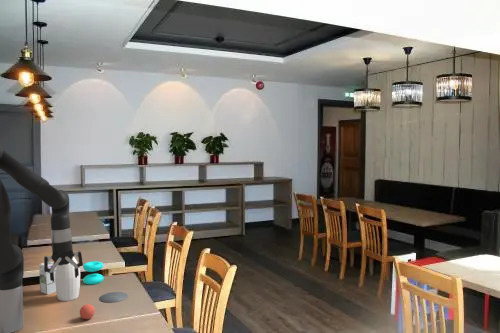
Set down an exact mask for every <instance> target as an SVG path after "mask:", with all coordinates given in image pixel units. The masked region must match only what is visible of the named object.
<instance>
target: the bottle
mask: <svg viewBox="0 0 500 333" xmlns="http://www.w3.org/2000/svg"><path fill="white" fill-rule="evenodd" d="M72 260H73V261H74V262H75V263H76V264H78V263H79V262H78V260H77V259H76V257H75V256H74V257H73V258H72ZM74 268H75V267H74V266H73V265H71V264H70V263H69V264H67V265H61V266H60V265H57V267H56V272H55V284H56V292H55V293H56V295H57V296H56V297H57V299H58V300H59V301H61V302H70V301H73V300H76V299H78V297H79V296H80V295H79V294H80V290H81V288H80V287H81V269H80V267H79V268H78V271H79V275H78V276H77V278H75V270H74Z"/></svg>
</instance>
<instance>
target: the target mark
mask: <svg viewBox="0 0 500 333" xmlns="http://www.w3.org/2000/svg"><path fill="white" fill-rule="evenodd" d="M128 297H129V295H128V293H126V292H122V291H114V292H107V293H104V294H102V295H101V296H99V297H98V300H99V301H100V302H102V303H108V304H110V303H111V304H112V303H118V302H119V303H120V302H122V301H125V300H126V299H127V298H128Z"/></svg>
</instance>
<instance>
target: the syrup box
mask: <svg viewBox="0 0 500 333" xmlns="http://www.w3.org/2000/svg"><path fill="white" fill-rule="evenodd" d="M53 263H54V261H51V260H50V261H49V262H48V268H51V266H52V265H53ZM38 266H39V268H38V269H39V270H38V271H39V292H40V293H41V294H45V295H51V294H54V293H57V292H56V284H55V272H56V268H57V267H56V268H55V269H54V271H53V272H54V282H52V281H51V280H50V273H49V272H45V271H44V262H42V263H39V264H38Z"/></svg>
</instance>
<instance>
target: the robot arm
mask: <svg viewBox="0 0 500 333" xmlns="http://www.w3.org/2000/svg"><path fill="white" fill-rule="evenodd" d="M0 170H2V171H3V172H5V173H6V174H8V175H9V176H10V177H11V178H12V179H13V180H14V181H15V182H16V183H18V185H19V186H21V187H22V188H23V189H26V191H28V192H30V193H31V194H33V195H35V196H36V197H38V198H39V200H41V201H42V202H43V203H45V204H46V205H47V206H48V207H50V208H51V216H50V230H51V233H50V234H51V235H50V237H51V238H50V240H51V251H52V252H51V255H50V256H49V255H48V256H47V255H44V258H43V260H44V261H43V263H44V271H45V272H49V273H50V280H51V281H52V282H54V272H53V271H54V269H55V268H57V265H60V266H61V265H67V264H69V263H70V264H71V265H73V266H74V267H75V268H74V270H75V278H77V276H78V275H79V271H78V268H79V269H80V267H83V265H84V263H83V256H82V251H80V250H78V251H74V250H73V249H74V248H73V236H72V231H71V220H70V196H69V193H67V192H66V191H65V190H63V189H57V188H56V187H54V186H52V185H51V184H50V182H49V181H48V180H46V178H44V177H42V176H41V175H40V174H38V173H36V172H35V171H33V170H31V169H30V168H28V167H27V166H25V165H24V164H23V163H21V162H20V161H18V160H17V159H16V158H14V157H13V156H12V155H11V154H10V153H8V151H7V150H5V148H3V147H2V146H1V145H0ZM11 226H12V206H11V200H10V197H9V194H8V191H7V189H6V188H5V185H4V183H3V182H2V179H1V178H0V333H15V332H18V331H20V330H22V329H23V328H24V323H25V322H24V302H23V301H24V299H23V298H24V297H23V295H24V294H23V278H24V274H25V271H24V270H25V268H24V262H25V261H24V260H25V259H24V252H23V250H22V248H21V247H20V246H18V245H16V244H13V242H12V239H11V238H12V236H11ZM75 256H76V257H75ZM73 257H74V258H78V262H77V263H78V264H76V263H75V262H74V261H73V260H72V258H73ZM51 260H52V262H54V263H53V265H52V266H51V268H48V262H49V261H50V262H51Z"/></svg>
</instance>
